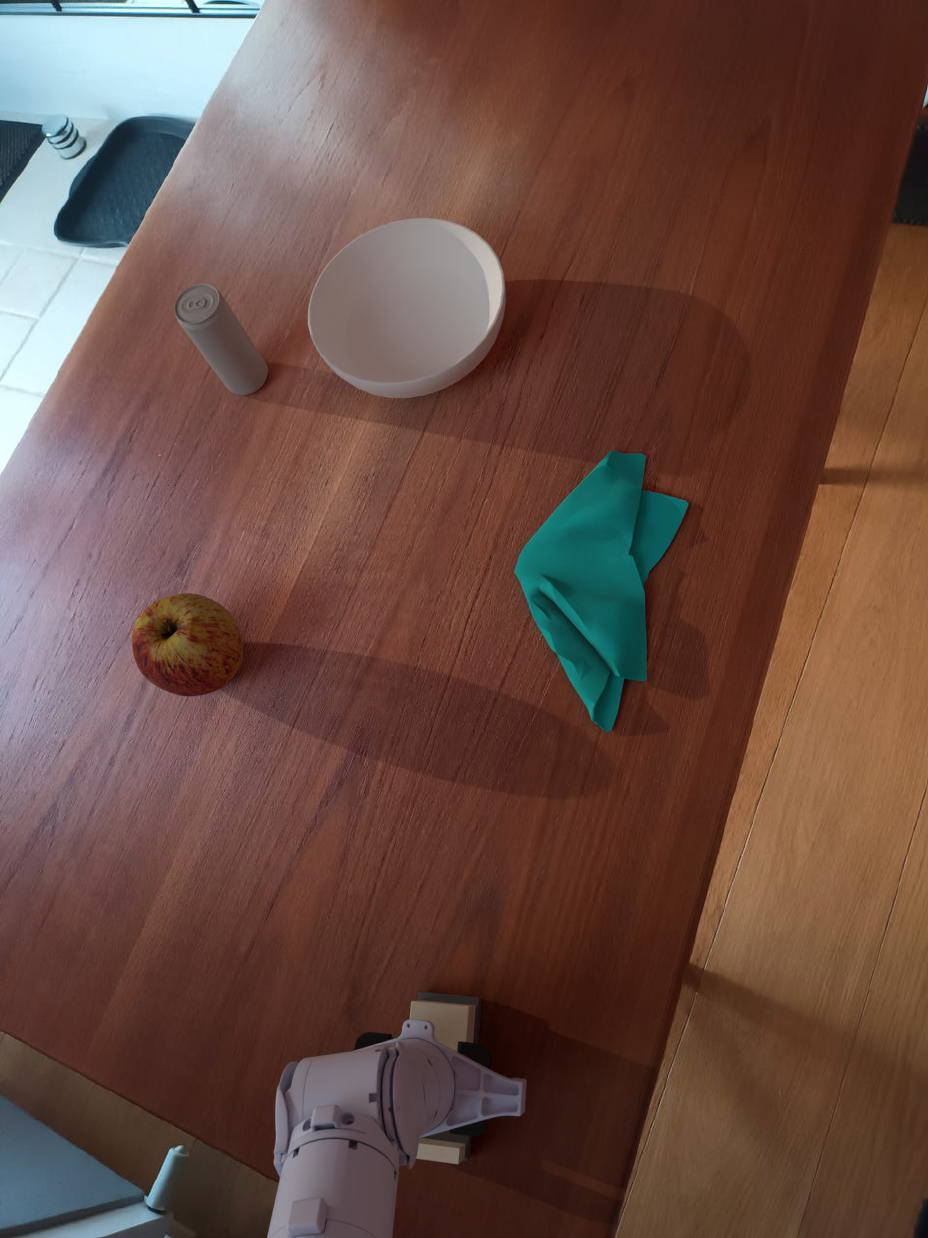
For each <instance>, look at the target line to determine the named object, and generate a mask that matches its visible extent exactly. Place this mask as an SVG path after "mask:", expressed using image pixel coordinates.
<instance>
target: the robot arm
mask: <svg viewBox="0 0 928 1238" xmlns="http://www.w3.org/2000/svg"><path fill="white" fill-rule="evenodd" d="M410 1025H411V1027H410ZM427 1026H428V1029H427ZM401 1027H402V1030H401V1034H400V1035H399V1036H398V1037H396V1038H394V1037H393V1034H392V1033H385V1032H376V1031H365V1032H364V1033H361V1034H360V1035H359V1036H358V1037H357V1038H356V1040H355V1043H354V1047H353V1050H351V1051H343V1052H337V1053H331V1054H324V1055H315V1056H310V1057H304V1058H302V1059H301V1060H300V1061H299V1062H298V1061H296V1060H295V1061H294V1060H293V1061H290V1062H289V1063H287V1065H286V1066H285V1067H284V1069H283V1071H282V1073H281V1076H280V1079H279V1083H278V1085H277V1088H276V1095H275V1110H274V1112H275V1113H274V1115H275V1116H274V1117H275V1119H274V1120H275V1142H274V1149H273V1155H274V1158H273V1166H274V1168H275V1169H276V1172H277V1174H278V1176H279V1181H278V1186H277V1189H276V1195H275V1199H274V1205H273V1208H272V1213H271V1218H270V1222H269V1226H268V1233H267V1236H266V1238H393V1234H394V1233H393V1231H394V1223H395V1213H396V1203H397V1194H398V1186H399V1185H398V1184H399V1176H400V1167H402V1166H407V1165H408V1166H407V1167H408V1169H409V1170H411V1169H412V1168H413V1167H414V1166H415V1163H416V1161H417V1159H416V1157H417V1152H418V1145H419V1138H421V1137H425V1136H429V1135H432V1134H436V1133H440V1132H443V1131H447V1130H449V1134H456V1135H464V1136H472V1137H477V1136H479V1135H481V1134H482V1133H484V1132H485V1130H486V1129H487V1127H488V1123H489V1119H492V1118H498V1117H505V1116H509V1117H510V1116H513V1117H521V1116H522V1115H523V1114H524V1113H525V1111H526V1101H527V1099H526V1097H527V1079H526V1078H520V1077H507V1076H504V1075H502V1074H500V1073H498V1072H495V1071H493V1070H492V1064H493V1056H492V1051H491V1049H490V1048H489V1046H488V1045H485V1044H483V1043H471V1042H461V1041H459V1042H458V1047H457V1052H456V1051H454V1050H453V1049H451V1048H449V1047H447V1046H445V1045H443V1044H441V1043H439V1042H438V1041H437V1040H436V1039H435V1037H434V1032H435V1028H434V1024H433V1023H432V1022H431V1021H428V1020H418V1019H410V1018H409V1019H406V1020H405V1021H404V1022H403V1024H402V1026H401Z"/></svg>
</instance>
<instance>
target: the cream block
mask: <svg viewBox="0 0 928 1238" xmlns="http://www.w3.org/2000/svg"><path fill="white" fill-rule="evenodd" d="M417 992H418V993H417V999H416V1000H411V1001H410V1010H409V1011H410V1012H409V1019H418V1020H428V1021H431V1022H432V1023H433V1024H434V1028H435V1032H434V1037H435V1039H436V1040H437V1041H438V1042H439V1043H441V1044H443V1045H445V1046H447V1047H449V1048H451V1049H453V1050H454V1051H456V1052H457V1047H458V1042H459V1041H461V1042H471V1043H479V1042H480V1029H481V1016H482V1015H481V1014H482V1003H483V1002H482V1000H483V997H482V996H474V995H463V994H452V993H444V992H443V993H442V992H431V991H417ZM410 1027H411V1025H410ZM427 1029H428V1026H427ZM472 1138H473V1136H464V1135H456V1134H449V1130H447V1131H443V1132H440V1133H436V1134H432V1135H429V1136H425V1137H421V1138H419V1145H418V1152H417V1157H416V1160H422V1161H423V1160H424V1161H430V1162H438V1163H447V1164H452V1165H460V1164H461V1163H462V1162H463V1161H464V1162H468V1161H469V1160H470V1158H471V1155H472V1152H471V1151H472Z"/></svg>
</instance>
